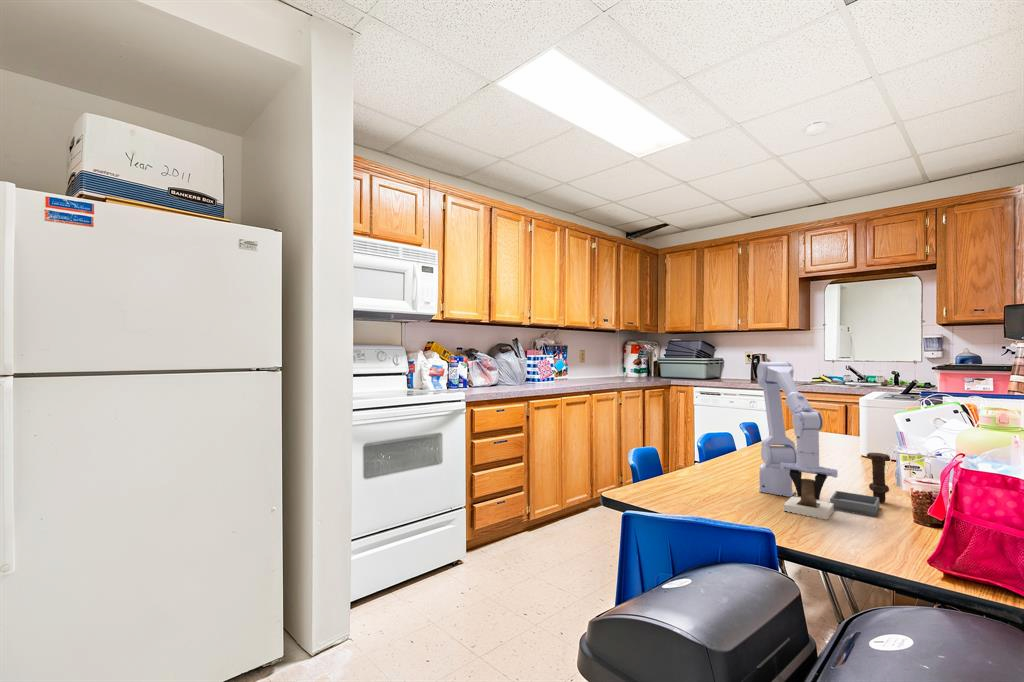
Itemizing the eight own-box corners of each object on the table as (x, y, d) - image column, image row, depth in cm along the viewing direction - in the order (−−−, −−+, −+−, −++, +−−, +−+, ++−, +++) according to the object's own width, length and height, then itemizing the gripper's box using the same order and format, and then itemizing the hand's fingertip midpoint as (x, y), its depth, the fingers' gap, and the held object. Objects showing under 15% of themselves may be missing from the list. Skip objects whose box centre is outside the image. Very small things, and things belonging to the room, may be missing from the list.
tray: (830, 508, 145) (830, 498, 145) (836, 500, 153) (835, 490, 153) (875, 516, 138) (875, 506, 138) (879, 507, 146) (879, 497, 146)
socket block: (783, 511, 143) (783, 504, 143) (792, 502, 151) (791, 496, 151) (827, 519, 135) (827, 512, 135) (833, 510, 144) (833, 503, 144)
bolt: (893, 505, 148) (892, 456, 148) (875, 504, 149) (874, 455, 149) (883, 499, 153) (882, 452, 154) (865, 498, 154) (864, 452, 155)
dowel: (799, 507, 143) (799, 480, 143) (802, 504, 146) (801, 477, 146) (815, 510, 140) (814, 482, 140) (817, 507, 143) (817, 480, 143)
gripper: (777, 450, 145) (778, 495, 145) (834, 457, 136) (835, 505, 135) (782, 447, 151) (783, 490, 150) (838, 453, 141) (839, 499, 141)
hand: (808, 497), depth 143 cm, fingers closed on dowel, 4 cm apart
